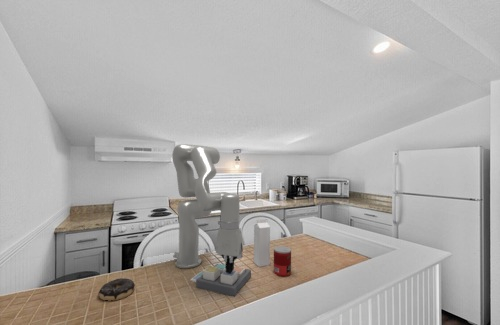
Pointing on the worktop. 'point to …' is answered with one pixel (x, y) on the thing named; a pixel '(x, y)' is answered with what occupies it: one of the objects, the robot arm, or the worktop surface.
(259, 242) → the milk
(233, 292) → the keypad
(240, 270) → the key terracotta
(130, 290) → the donut
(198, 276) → the strip
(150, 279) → the worktop surface
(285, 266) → the canned food
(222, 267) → the key teal
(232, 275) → the key slate
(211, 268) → the key mustard
